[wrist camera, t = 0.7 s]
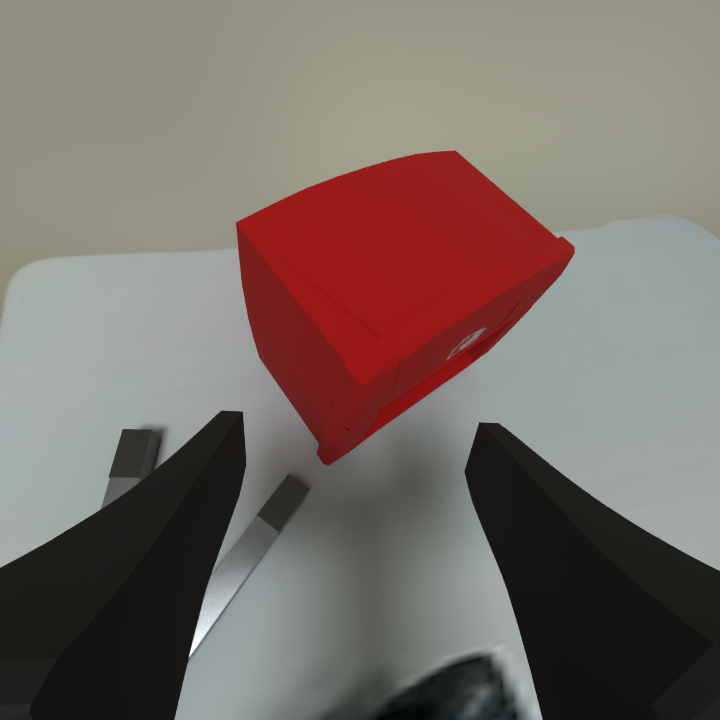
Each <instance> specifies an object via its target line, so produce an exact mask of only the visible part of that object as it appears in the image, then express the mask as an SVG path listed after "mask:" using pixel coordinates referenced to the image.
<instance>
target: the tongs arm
mask: <svg viewBox="0 0 720 720" xmlns="http://www.w3.org/2000/svg"><path fill="white" fill-rule="evenodd" d="M308 492H309V489H308V488H307V487H305V486H304V485H303V484H301V483H300V482H299V481H297V480H296V479H295V478H293V477H292V476H291V475H289V474H288V475H287V476H286V478H285V479H284V480H283V482H282V483H281V484H280V485H279V487H278V488H277V489H276V491H275V492H274V493H273V495H272V496H271V497H270V499H269V500H268V501H267V502H266V504H265V505H264V506H263V508H262V509H261V510H260V512H259V513H258V514H257V517H256V519H255V520H254V521H253V523H252V524H251V525H250V526H249V528H248V529H247V530H246V532H245V533H244V534H243V536H242V537H241V538H240V540H239V541H238V542H237V544H236V545H235V546H234V547H233V549H232V550H231V551H230V553H229V554H228V555H227V557H226V558H225V559H224V561H223V562H222V563H221V565H220V566H219V567H218V569H217V570H216V571H215V572H214V574H213V575H212V576H211V578H210V579H209V583H208V586H207V589H206V593H205V596H204V600H203V604H202V608H201V612H200V616H199V619H198V623H197V627H196V631H195V635H194V639H193V643H192V647H191V651H190V655H189V659H188V662H189V660H190V659H191V657H192V656H193V655H194V653H195V652H196V650H197V649H198V648H199V646H200V645H201V643H202V642H203V640H204V639H205V638H206V636H207V635H208V633H209V632H210V631H211V629H212V628H213V626H214V625H215V624H216V622H217V621H218V619H219V618H220V616H221V615H222V614H223V612H224V611H225V609H226V608H227V607H228V605H229V604H230V602H231V601H232V600H233V598H234V597H235V595H236V594H237V593H238V591H239V590H240V588H241V587H242V585H243V584H244V583H245V581H246V580H247V578H248V577H249V576H250V574H251V573H252V571H253V570H254V569H255V567H256V566H257V564H258V563H259V562H260V560H261V559H262V557H263V556H264V554H265V553H266V552H267V550H268V549H269V547H270V546H271V545H272V543H273V542H274V540H275V539H276V538H277V536H278V535H280V533H281V532H282V530H283V529H284V528H285V526H286V525H287V523H288V522H289V521H290V519H291V518H292V516H293V515H294V513H295V512H296V511H297V509H298V508H299V506H300V505H301V504H302V502H303V501H304V499H305V498H306V496H307V495H308Z"/></svg>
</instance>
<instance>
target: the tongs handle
mask: <svg viewBox="0 0 720 720" xmlns="http://www.w3.org/2000/svg"><path fill="white" fill-rule="evenodd" d="M160 441H161V439H160V438H159V437H158V436H157V435H156V434H155V433H154V432H153V431H152V430H137V429H123V430H122V434H121V437H120V440H119V444H118V447H117V451H116V454H115V457H114V461H113V464H112V468H111V471H110V474H109V478H110V480H109V484H108V487H107V490H106V494H105V497H104V501H103V504H102V508H104V507H105V506H107V505H108V504H110V503H111V502H113V501H114V500H116V499H117V498H119V497H120V496H121V495H123V494H124V493H126V492H127V491H128V490H130V489H131V488H132V487H134V486H135V485H137V484H138V483H139V482H140V481H142V480H143V479H144V478H145V477H147V476H148V475H149V474H150V473H152V472H153V470H154V466H155V462H156V458H157V454H158V450H159V445H160ZM102 508H101V509H102Z"/></svg>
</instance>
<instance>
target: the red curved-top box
mask: <svg viewBox="0 0 720 720" xmlns="http://www.w3.org/2000/svg"><path fill="white" fill-rule="evenodd" d="M236 228H237V237H238V249H239V259H240V269H241V280H242V286H243V291H244V297H245V303H246V308H247V314H248V319H249V322H250V326H251V330H252V334H253V338H254V341H255V344H256V348H257V351H258V354H259V357H260V359H261V360H262V362H263V363H264V365H265V366H266V368H267V369H268V370H269V372H270V373H271V375H272V376H273V378H274V379H275V381H276V382H277V383H278V385H279V386H280V388H281V389H282V391H283V392H284V394H285V395H286V396H287V398H288V399H289V401H290V402H291V404H292V405H293V406H294V408H295V409H296V411H297V412H298V414H299V415H300V417H301V418H302V419H303V421H304V422H305V424H306V425H307V427H308V428H309V430H310V431H311V432H312V434H313V435H314V437H315V438H316V440H317V441H318V443H319V447H318V451H317V455H318V456H319V458H320V459H321V461H322V462H323V464H325V465H330V464H331V463H333V462H334V461H336V460H337V459H339V458H340V457H342V456H344V455H345V454H347V453H348V452H350V451H351V450H352V449H353V448H355V447H356V446H357V445H359V444H360V443H361V442H362V441H364V440H365V439H366V438H368V437H369V436H370V435H372V434H373V433H375V432H376V431H378V430H379V429H380V428H382V427H383V426H385V425H386V424H387V423H389V422H390V421H392V420H393V419H394V418H396V417H397V416H399V415H400V414H401V413H403V412H404V411H406V410H407V409H408V408H410V407H411V406H413V405H414V404H415V403H417V402H418V401H420V400H421V399H423V398H424V397H425V396H427V395H428V394H430V393H431V392H432V391H434V390H435V389H437V388H438V387H439V386H441V385H442V384H444V383H445V382H447V381H448V380H449V379H451V378H452V377H454V376H455V375H457V374H458V373H459V372H461V371H462V370H464V369H465V368H466V367H468V366H469V365H470V364H472V363H473V362H474V361H476V360H477V359H479V358H480V357H481V356H483V355H484V354H485V353H487V352H488V351H489V350H490V349H491V348H492V347H493V346H494V345H495V344H496V343H497V342H498V341H499V340H500V339H501V338H502V337H503V336H504V335H505V334H506V333H507V332H508V331H509V330H510V329H511V328H512V327H513V326H514V325H515V324H516V323H517V322H518V321H519V320H520V319H521V318H522V317H523V316H524V315H525V314H526V313H527V312H528V310H529V309H530V308H531V307H532V306H533V305H534V303H535V302H536V301H537V300H538V299H539V298H540V297H541V296H542V295H543V294H544V293H545V291H546V290H547V289H548V288H549V287H550V286H551V285H552V284H553V283H554V282H555V281H556V280H557V279H558V277H559V276H560V275H561V274H562V273H563V271H564V270H565V268H566V266H567V265H568V263H569V261H570V260H571V258H572V257H573V255H574V253H575V250H574V246H573V245H572V244H571V243H569V242H568V241H567V240H566V239H565V238H563V237H560V238H557V237H555V236H554V235H553V234H552V233H551V232H550V231H548V230H547V229H546V228H545V227H544V226H543V225H541V224H540V223H539V222H538V221H537V220H535V219H534V218H533V217H532V216H531V215H530V214H529V213H527V212H526V211H525V210H524V209H523V208H522V207H520V206H519V205H518V204H517V203H516V202H515V201H513V200H512V199H511V198H510V197H509V196H508V195H506V194H505V193H504V192H503V191H502V190H500V189H499V188H498V187H497V186H496V185H495V184H494V183H493V182H491V181H490V180H489V179H488V178H487V177H486V176H484V175H483V174H482V173H481V172H479V170H477V169H476V168H475V167H474V166H473V165H471V164H470V163H469V162H468V161H467V160H466V159H465V158H463V157H462V156H461V155H460V154H459V153H457V152H456V151H442V152H431V153H421V154H414V155H411V156H406V157H402V158H397V159H394V160H389V161H386V162H383V163H380V164H376V165H372V166H369V167H366V168H362V169H359V170H357V171H353V172H350V173H347V174H344V175H341V176H338V177H335V178H333V179H330V180H327V181H325V182H322V183H319V184H317V185H314V186H311V187H308V188H306V189H304V190H302V191H299V192H298V193H295V194H293V195H291V196H289V197H287V198H284V199H283V200H280V201H278V202H276V203H274V204H272V205H270V206H268V207H266V208H264V209H262V210H260V211H258V212H256V213H254V214H252V215H250V216H248V217H246V218H244V219H242V220H240V221H238V222H236Z"/></svg>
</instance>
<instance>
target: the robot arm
mask: <svg viewBox="0 0 720 720" xmlns="http://www.w3.org/2000/svg"><path fill="white" fill-rule="evenodd" d="M245 468H246V452H245V437H244V422H243V412H239V411H221V412H219V413H218V414H217V415H216V416H215V417H214V418H213V419H212V420H211V421H210V422H209V423H207V424H206V425H205V426H204V427H203V428H202V429H201V430H200V431H199V432H198V433H197V434H196V435H195V436H194V437H192V438H191V439H190V440H189V441H188V442H187V443H186V444H185V445H184V446H182V447H181V448H180V449H179V450H178V451H177V452H176V453H175V454H173V455H172V456H171V457H170V458H169V459H168V460H166V461H165V462H164V463H163V464H162V465H160V466H159V467H158V468H157V469H155V470H154V471H153V472H152V473H150V474H149V475H148V476H147V477H145V478H144V479H143V480H142V481H140V482H139V483H138V484H137V485H135V486H134V487H132V488H131V489H130V490H128V491H127V492H126V493H124V494H123V495H121V496H120V497H119V498H117V499H116V500H114V501H113V502H111V503H110V504H108V505H107V506H105V507H104V508H102V509H101V510H99V511H98V512H96V513H95V514H93V515H92V516H90V517H88V518H87V519H85V520H83V521H82V522H80V523H78V524H77V525H75V526H74V527H72V528H70V529H69V530H67V531H65V532H64V533H62V534H60V535H59V536H57V537H55V538H54V539H52V540H50V541H49V542H47V543H45V544H43V545H42V546H40V547H38V548H36V549H34V550H33V551H31V552H29V553H27V554H25V555H24V556H22V557H20V558H18V559H16V560H14V561H12V562H10V563H8V564H7V565H5V566H3V567H1V568H0V720H174V719H175V714H176V710H177V706H178V701H179V697H180V693H181V689H182V684H183V680H184V676H185V671H186V667H187V663H188V659H189V655H190V651H191V647H192V643H193V639H194V635H195V631H196V627H197V623H198V619H199V616H200V612H201V608H202V604H203V600H204V596H205V593H206V589H207V586H208V583H209V579H210V576H211V573H212V570H213V567H214V565H215V562H216V559H217V556H218V554H219V551H220V548H221V545H222V542H223V540H224V537H225V534H226V531H227V529H228V526H229V523H230V520H231V518H232V515H233V512H234V509H235V506H236V503H237V501H238V498H239V494H240V490H241V486H242V482H243V477H244V473H245ZM465 475H466V480H467V484H468V488H469V491H470V495H471V499H472V502H473V505H474V507H475V510H476V513H477V515H478V518H479V520H480V523H481V525H482V528H483V530H484V532H485V535H486V537H487V540H488V542H489V545H490V547H491V550H492V552H493V554H494V557H495V559H496V562H497V564H498V567H499V569H500V572H501V574H502V577H503V580H504V582H505V585H506V588H507V591H508V594H509V597H510V600H511V604H512V607H513V610H514V614H515V617H516V620H517V624H518V627H519V630H520V634H521V638H522V641H523V645H524V649H525V652H526V656H527V659H528V663H529V667H530V670H531V674H532V678H533V682H534V686H535V690H536V694H537V698H538V702H539V706H540V710H541V714H542V718H543V720H720V571H719V570H717V569H715V568H713V567H711V566H709V565H707V564H705V563H703V562H701V561H699V560H697V559H695V558H693V557H691V556H689V555H688V554H686V553H684V552H682V551H680V550H678V549H677V548H675V547H673V546H671V545H670V544H668V543H666V542H664V541H663V540H661V539H659V538H657V537H655V536H654V535H652V534H650V533H649V532H647V531H645V530H644V529H642V528H640V527H639V526H637V525H635V524H634V523H632V522H630V521H629V520H627V519H626V518H624V517H623V516H621V515H620V514H618V513H616V512H615V511H613V510H612V509H610V508H609V507H607V506H606V505H604V504H603V503H601V502H600V501H598V500H597V499H595V498H594V497H593V496H591V495H590V494H588V493H587V492H586V491H584V490H583V489H582V488H580V487H579V486H577V485H576V484H575V483H573V482H572V481H571V480H569V479H568V478H567V477H565V476H564V475H563V474H562V473H560V472H559V471H558V470H556V469H555V468H554V467H553V466H551V465H550V464H549V463H548V462H546V461H545V460H544V459H543V458H541V457H540V456H539V455H538V454H536V453H535V452H534V451H533V450H532V449H530V448H529V447H528V446H527V445H525V444H524V443H523V442H522V441H521V440H519V439H518V438H517V437H516V436H514V435H513V434H512V433H511V432H509V431H508V430H507V429H506V428H504V427H503V426H501V425H500V424H499V423H481V422H479V425H478V429H477V432H476V435H475V439H474V442H473V445H472V448H471V452H470V455H469V458H468V462H467V465H466V468H465Z"/></svg>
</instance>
